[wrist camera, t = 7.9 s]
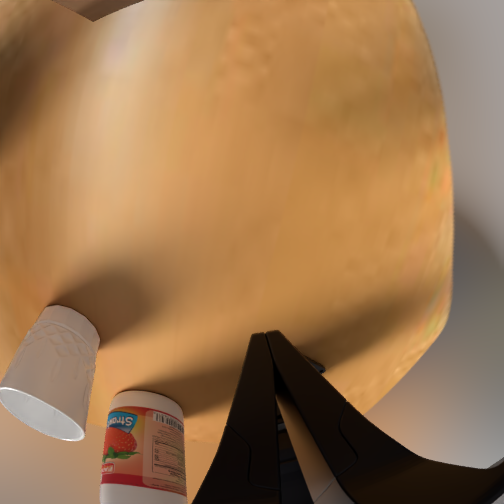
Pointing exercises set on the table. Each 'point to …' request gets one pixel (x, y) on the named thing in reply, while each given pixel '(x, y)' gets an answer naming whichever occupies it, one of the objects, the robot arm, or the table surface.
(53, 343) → the white cup
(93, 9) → the walnut T block
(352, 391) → the table surface
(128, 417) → the fruit juice
